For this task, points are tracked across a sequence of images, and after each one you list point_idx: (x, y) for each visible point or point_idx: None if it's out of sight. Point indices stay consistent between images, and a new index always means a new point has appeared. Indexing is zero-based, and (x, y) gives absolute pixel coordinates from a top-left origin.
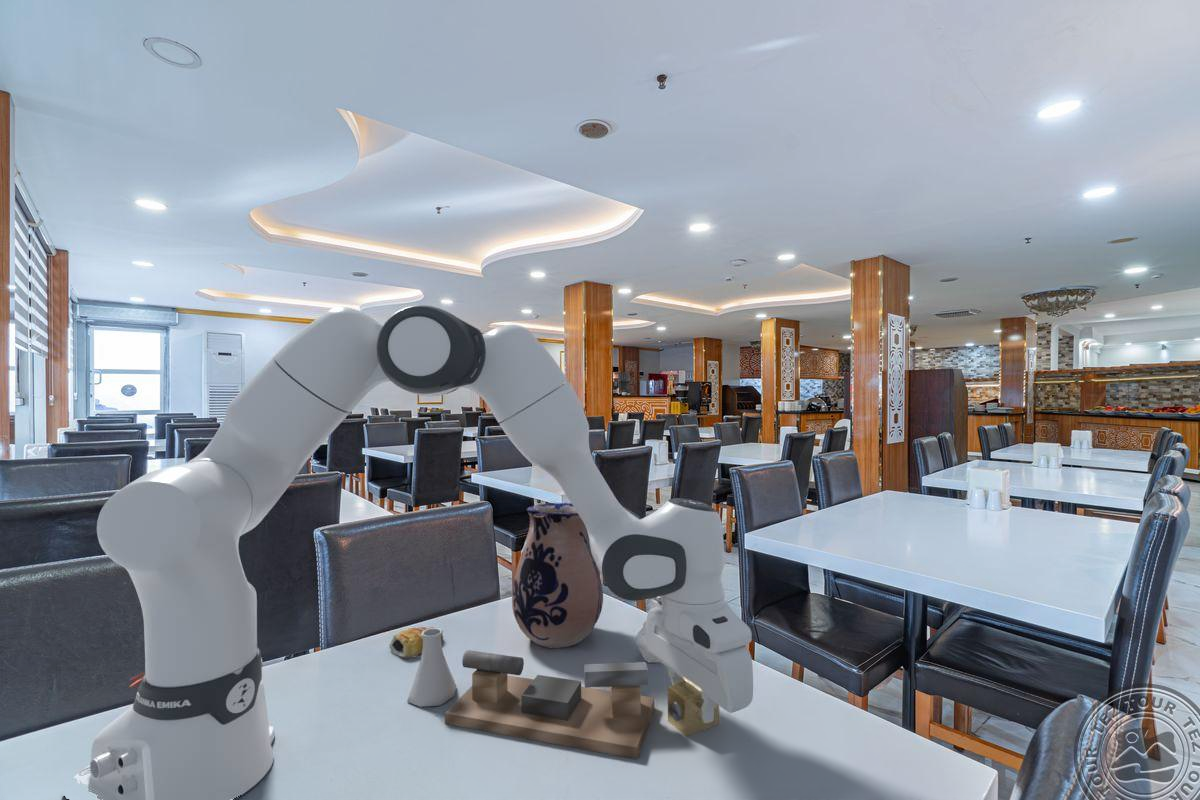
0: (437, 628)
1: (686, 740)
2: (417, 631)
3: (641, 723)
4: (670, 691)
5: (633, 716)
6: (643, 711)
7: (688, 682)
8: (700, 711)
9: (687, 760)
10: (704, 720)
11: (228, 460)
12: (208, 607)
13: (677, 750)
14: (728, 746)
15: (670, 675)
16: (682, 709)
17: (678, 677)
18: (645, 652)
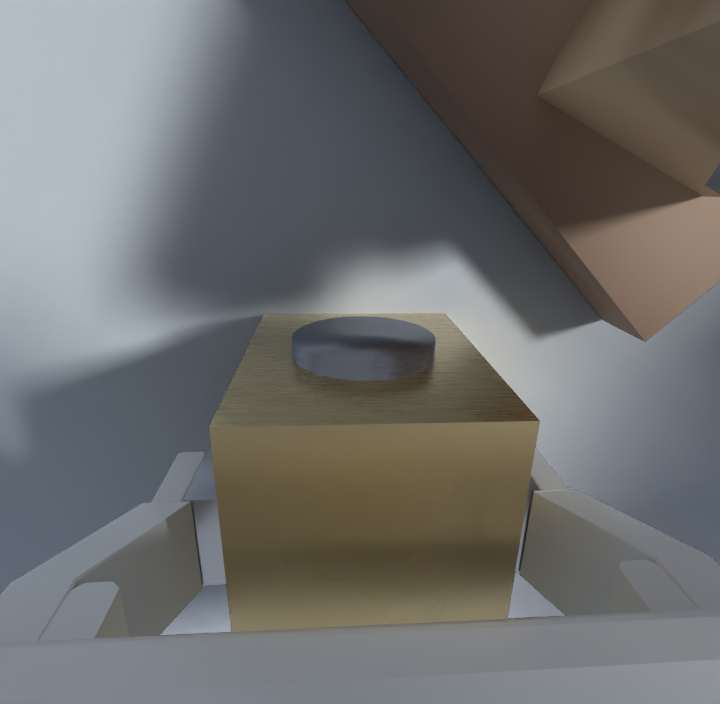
0: None
1: (223, 295)
2: None
3: (443, 25)
4: (478, 407)
5: (564, 20)
6: (565, 153)
7: (272, 635)
8: (200, 485)
9: (36, 173)
10: (178, 462)
11: None
12: None
13: (155, 179)
14: (78, 464)
15: (670, 552)
16: (275, 375)
17: (603, 593)
18: None
